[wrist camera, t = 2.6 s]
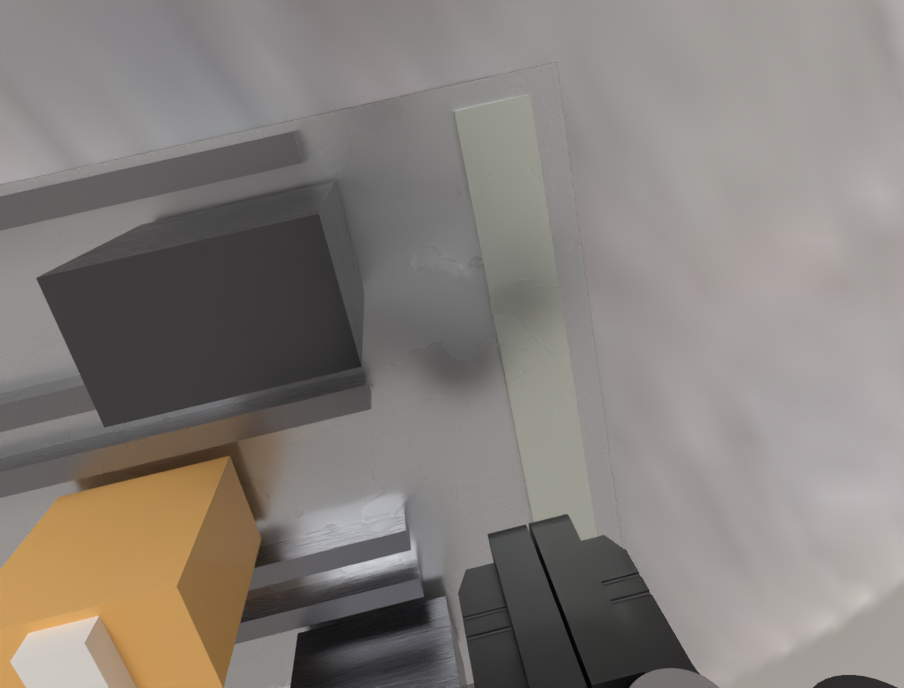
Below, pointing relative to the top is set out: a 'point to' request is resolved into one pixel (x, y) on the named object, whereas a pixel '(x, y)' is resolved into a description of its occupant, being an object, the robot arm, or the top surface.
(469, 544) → the breaker panel
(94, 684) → the toggle
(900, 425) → the top surface
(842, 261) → the top surface
